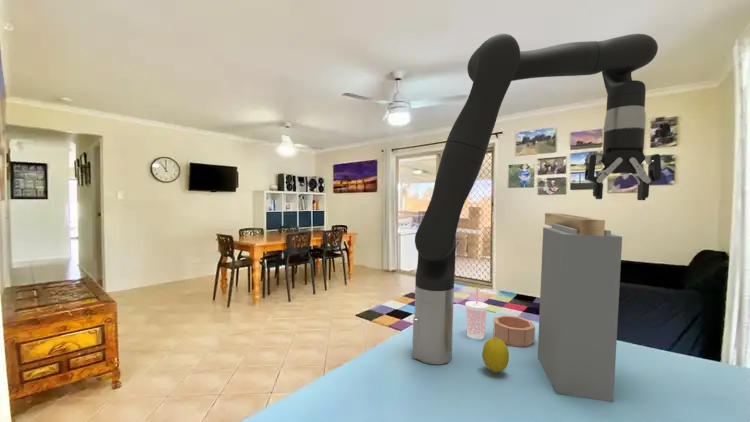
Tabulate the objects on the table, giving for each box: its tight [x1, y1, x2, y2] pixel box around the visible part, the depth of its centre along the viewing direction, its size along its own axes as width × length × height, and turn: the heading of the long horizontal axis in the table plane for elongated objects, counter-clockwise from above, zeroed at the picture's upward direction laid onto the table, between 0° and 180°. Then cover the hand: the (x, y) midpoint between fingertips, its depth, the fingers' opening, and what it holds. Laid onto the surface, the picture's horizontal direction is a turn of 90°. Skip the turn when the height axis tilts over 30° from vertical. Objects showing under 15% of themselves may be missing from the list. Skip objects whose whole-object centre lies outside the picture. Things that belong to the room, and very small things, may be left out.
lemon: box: [481, 336, 510, 374], centre depth 73 cm, size 6×6×8 cm
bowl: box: [492, 314, 536, 348], centre depth 90 cm, size 10×10×5 cm
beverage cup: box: [465, 286, 489, 340], centre depth 92 cm, size 6×6×14 cm
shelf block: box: [537, 224, 623, 403], centre depth 71 cm, size 10×15×33 cm, turn 166°
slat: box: [544, 212, 606, 236], centre depth 75 cm, size 4×26×3 cm, turn 166°
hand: (619, 199), depth 76 cm, fingers open, 8 cm apart
